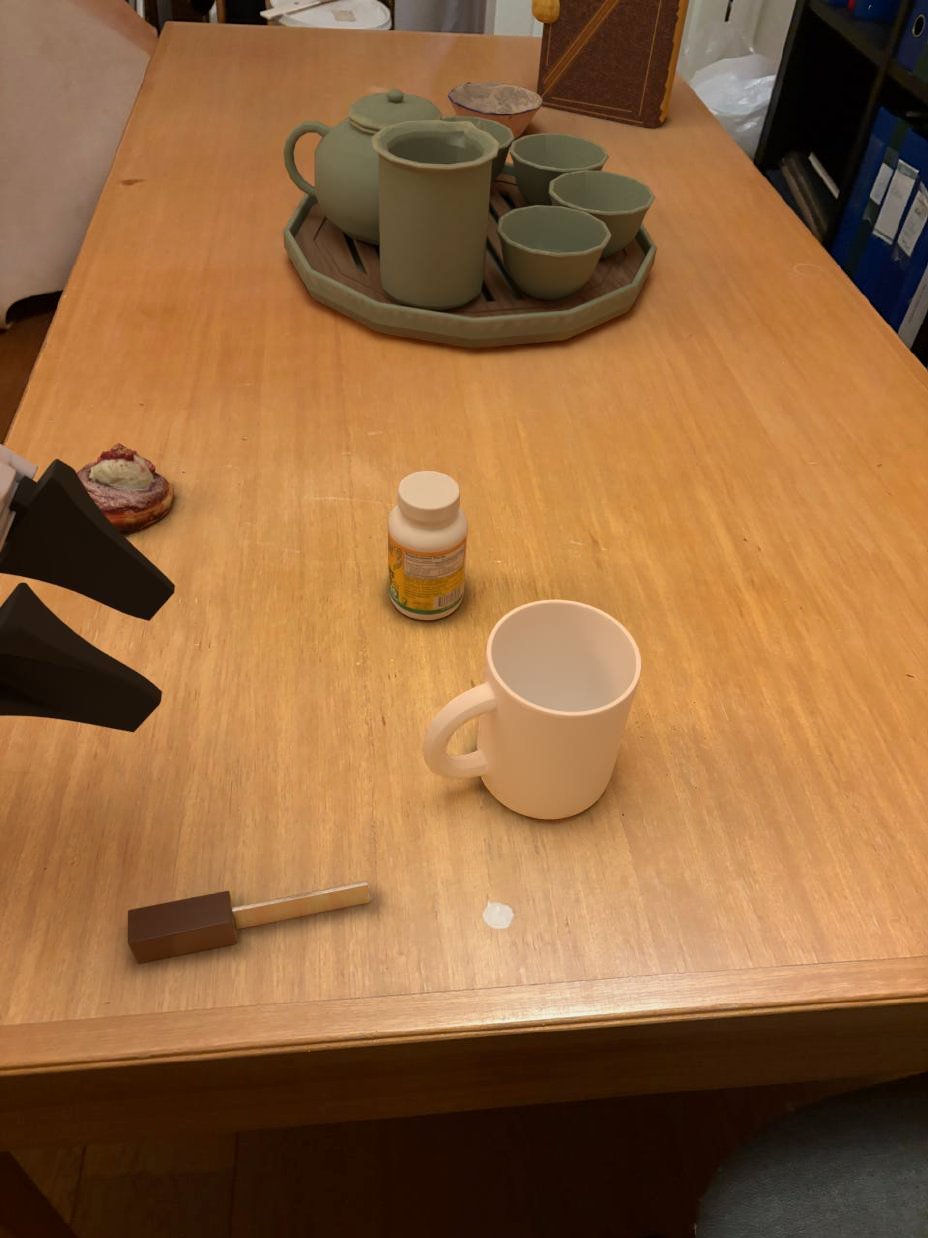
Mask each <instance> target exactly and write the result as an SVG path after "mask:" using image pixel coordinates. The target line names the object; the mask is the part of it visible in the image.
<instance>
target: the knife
mask: <svg viewBox="0 0 928 1238" xmlns="http://www.w3.org/2000/svg"><path fill="white" fill-rule="evenodd" d="M369 892H370V891H369V882H368V880H365V881H359V882H354V883H348V884H343V885H339V886H334V887H329V888H324V889H318V890H314V891H313V890H312V891H308V892H303V893H298V894H294V895H289V896H283V897H278V898H274V899H268V900H263V901H257V902H254V903H249V904H248V903H247V904H243V905H238V906H234V903H233V898H232V895H231V892H230V890H224V891H219V892H213V893H209V894H203V895H199V896H192V897H188V898H183V899H178V900H172V901H168V902H167V901H166V902H162V903H157V904H152V905H147V906H141V907H137V908H132V909H128V910H127V945H128V947H129V948H130V951H131V952H132V955H133V957H134V959H135V961H136V963H137V964H143V963H147V962H152V961H157V960H162V959H167V958H172V957H177V956H182V955H187V954H191V953H196V952H201V951H206V950H210V949H211V950H212V949H216V948H220V947H225V946H226V947H227V946H229V945H230V946H231V945H235V944H238V941H239V940H238V930H240V929H245V928H249V927H255V926H259V925H266V924H269V923H276V922H279V921H285V920H289V919H294V918H300V917H305V916H308V915H309V916H310V915H314V914H318V913H324V912H329V911H333V910H339V909H343V908H348V907H353V906H358V905H363V904H367V903H370V895H369V894H370V893H369Z"/></svg>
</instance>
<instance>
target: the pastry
mask: <svg viewBox="0 0 928 1238" xmlns="http://www.w3.org/2000/svg"><path fill="white" fill-rule="evenodd" d="M96 459H97V460H95V461H93V462H89V463H87V464H85V466H83V467H82V468H81V469H79V470H78V471H76V473H77V475H78V477H79V478H80V480H81V482H82V484H83V485H84V487H85V489H86V490H87V492H88V493H89V495H90V496H91V498H92V499H93V500H94V502H95V503H96V504H97V506H98V507H99V508H100V510H101V511H102V512H103V513H104V515H105V516H106V517H107V518H108V520H109V521H110V522H111V523H112V524H113V525H114V526H115V527H116V528H117V530H118V531H119V532H127V531H128V532H129V531H141V530H142V529H144V528H147V527H148V526H151V524H154V523H155V522H157V521H159V520H161V519H162V518H163V517H164V516H165V515H166V514H167V513H168V512H170V509H171V505H172V502H173V499H174V487H173V486H172V485H171V483H170V482H169V481H168V480H167V479H166V477H164V476H163V475H161V474H159V473H157V472H156V469H157V467H156V465H155V464H154V463H153V462H151V460H149V459H147V458H145V457H143V456H141V455H140V454H139V453H138V452H137V450H132V449H131V448H127V447H126V446H124V445H123V444H121V443H120V442H117V443H116V444H114V445H113V446H112V447H111V448H110V449H109V450H107V451H105V450H104V451H102V452H101V454H100V456H98V457H96Z"/></svg>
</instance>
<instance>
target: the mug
mask: <svg viewBox="0 0 928 1238" xmlns="http://www.w3.org/2000/svg"><path fill="white" fill-rule="evenodd" d="M484 660H485V661H484V669H483V680H482V683H481V684H479V685H476V686H473V687H472V688H469V689H467V690H466V691H463V692H462V693H460V694H459V695H457V696H455V697H454V698H452V699H451V700H450V701H449V702H448V703H446V704H445V705H444V706H443V707H442V708H441V709H440V710H439V711H438V712H437V713H436V714H435V716H434V717H433V718H432V720H431V721H430V722H429V725H428V727H427V729H426V730H425V734H424V737H423V741H422V755H423V759H424V763H425V764H426V766H427V767H428V768H429V770H430V771H431V772H432V773H434V774H435V775H436V776H439V777H441V778H443V779H447V780H458V781H460V780H467V779H472V778H477V777H480V778H481V781H482V783H483V784H484V786H485V787H486V788H487V790H488V791H489V793H490V794H491V795H492V796H493V797H494V798H495V799H496V800H497V801H498V802H499V803H501V804H502V805H503V806H505V807H506V808H508V809H509V810H511V811H513V812H515V813H517V814H520V815H522V816H526V817H528V818H533V819H540V820H558V819H566V818H570V817H572V816H575V815H578V814H580V813H582V812H584V811H585V810H587V809H588V808H590V807H591V806H593V805H594V804H595V803H596V802H597V801H598V800H599V799H600V797H602V795H603V794H604V792H605V791H606V789H607V787H608V784H609V783H610V780H611V778H612V775H613V771H614V768H615V765H616V761H617V758H618V756H619V755H618V754H619V751H620V748H621V744H622V741H623V737H624V734H625V730H626V726H627V724H628V719H629V716H630V714H631V713H630V712H631V710H632V707H633V703H634V699H635V696H636V693H637V689H638V685H639V681H640V678H641V674H642V657H641V652H640V650H639V647H638V644H637V642H636V641H635V639H634V638H633V635H632V634H631V633H630V632H629V630H628V629H627V628H626V627H625V626H624V625H623V624H622V623H621V622H620V621H619V620H617V619H616V618H615V617H613V616H612V615H611V614H608V612H606V611H603V610H601V609H599V608H598V607H595V606H592V605H589V604H587V603H583V602H579V601H574V600H568V599H541V600H537V601H532V602H529V603H525V604H522V605H520V606H518V607H516V608H514V609H511V610H510V611H508V612H507V613H506V614H505V615H504V616H502V617H501V618H500V619H499V620H498V621H497V622H496V624H495V625H494V627H493V628H492V630H491V631H490V633H489V636H488V638H487V642H486V650H485V659H484ZM477 717H478V718H479V720H478V728H477V729H478V730H477V739H476V750H475V751H473V752H469V753H466V754H461V755H451V754H448V753H447V752H448V751H447V749H448V745H449V743H450V740H451V739H452V737H453V736H454V734H455V733H456V732H457V731H458V730H459V729H460V728H461V727H462V726H463V725H465V724H466V723H468V722H469V721H471V720H473V719H475V718H477Z"/></svg>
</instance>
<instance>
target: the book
mask: <svg viewBox="0 0 928 1238" xmlns="http://www.w3.org/2000/svg"><path fill="white" fill-rule="evenodd" d="M689 4H690V0H532V1H531V14H532V16H533V17H534V18H535V20H537V22H539V23H543V25H542V35H541V45H540V55H539V65H538V76H537V86H536V93H537V94H538V95H539V96H540V97H541V98H542V100H543V102H542V106H541V107H546V108H551V109H555V110H560V111H564V112H570V113H575V114H579V115H583V116H584V115H585V116H589V117H593V118H594V117H595V118H599V119H603V120H608V121H612V122H619V123H622V124H623V123H624V124H627V125H632V126H636V127H641V128H650V129H656V128H660V127H662V126H663V125H664V124H665V123H666V122H667V118H668V113H669V107H670V103H671V96H672V92H673V88H674V87H673V86H674V83H675V76H676V71H677V67H678V62H679V56H680V51H681V45H682V41H683V35H684V31H685V30H684V29H685V26H686V19H687V15H688V10H689Z"/></svg>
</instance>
